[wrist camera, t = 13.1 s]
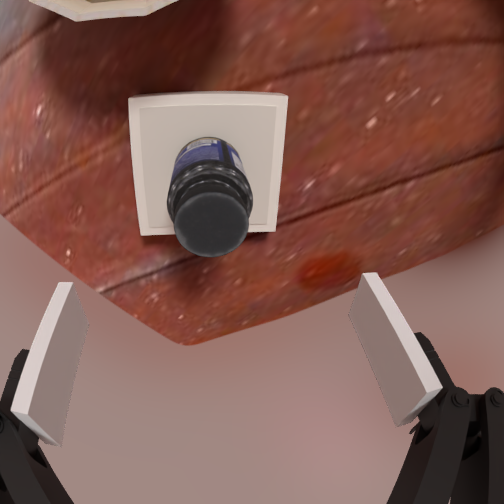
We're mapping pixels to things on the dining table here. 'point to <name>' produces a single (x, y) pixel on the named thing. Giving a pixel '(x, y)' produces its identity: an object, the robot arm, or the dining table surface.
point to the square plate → (206, 125)
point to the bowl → (102, 8)
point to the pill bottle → (209, 198)
